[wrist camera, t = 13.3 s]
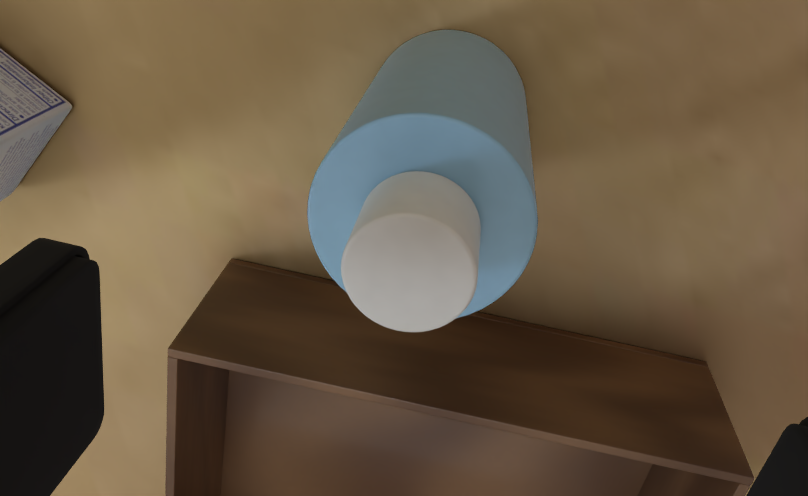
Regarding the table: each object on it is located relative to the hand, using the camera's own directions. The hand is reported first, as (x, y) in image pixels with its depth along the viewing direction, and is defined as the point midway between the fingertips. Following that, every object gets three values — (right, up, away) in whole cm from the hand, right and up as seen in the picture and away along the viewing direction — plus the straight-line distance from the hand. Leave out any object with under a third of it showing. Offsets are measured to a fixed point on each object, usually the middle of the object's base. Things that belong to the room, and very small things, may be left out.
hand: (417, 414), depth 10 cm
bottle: (+1, +6, +11) cm, 13 cm away
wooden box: (+1, -5, +18) cm, 18 cm away
